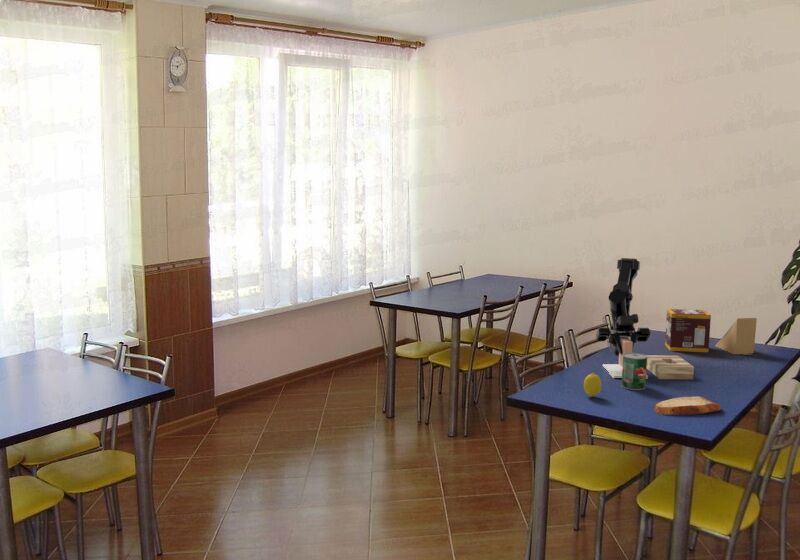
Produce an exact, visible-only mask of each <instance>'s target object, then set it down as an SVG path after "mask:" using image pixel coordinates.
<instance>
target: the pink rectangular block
mask: <svg viewBox="0 0 800 560" xmlns="http://www.w3.org/2000/svg"><path fill="white" fill-rule="evenodd" d="M620 343H621V346H622V351H623V354H625V353H633V352H632V349H633V350H634V346H633V342H632V341H631V340H629V339H628V338H620ZM623 354H622V355H621V354H620V353H619V355H618V364H619V365H621V366H622V367H623Z"/></svg>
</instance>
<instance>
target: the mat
mask: <svg viewBox="0 0 800 560" xmlns="http://www.w3.org/2000/svg"><path fill="white" fill-rule="evenodd" d="M602 366H603V367H604V368H605V369H606V370H607V371H608V372H609V373H608V372H607V371H606V370H605V369H604V368H603V367H602ZM602 366H601V367H602V368H603V369H604V370H605V371H606V372H607V373H608V375H610V377H612V378H613V379H614V378H622V369H623V367H622V366H621V365H619V363H618V364H617V363H613V364H612V363H607V364H605V363H602ZM648 378H649V375H647V374H646V380H648Z"/></svg>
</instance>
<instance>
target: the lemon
mask: <svg viewBox="0 0 800 560" xmlns="http://www.w3.org/2000/svg"><path fill="white" fill-rule="evenodd" d="M583 390H584V392H585V393H586V394H587V395H588V396H590V397H591V398H594V397H595V396H597V395H598V394H599V393H600V392H601V390H602V381H601V378H600V376H599V375H597V374H595V373H594V372H591V373H590V374H588V375H587V376H586V377H585V378H584V381H583Z"/></svg>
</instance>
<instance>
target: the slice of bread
mask: <svg viewBox="0 0 800 560" xmlns="http://www.w3.org/2000/svg"><path fill="white" fill-rule="evenodd" d="M653 411H654V412H655V413H656V414H658V415H662V414H664V416H683V415H684V416H685V415H686V416H687V415H705V414H711V413H716V412H719V411H722V406H721V405H720V404H719V403H717V402H712V401H711V400H709V399H707V398H705V397H703V396H700V395H699V396H697V395H696V396H681V397H680V396H679V397H674V398H673V397H672V398H670V399H667V400H666V399H665V400H663V401H659V402H658V403H656V404H655V406H654V409H653Z"/></svg>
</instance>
